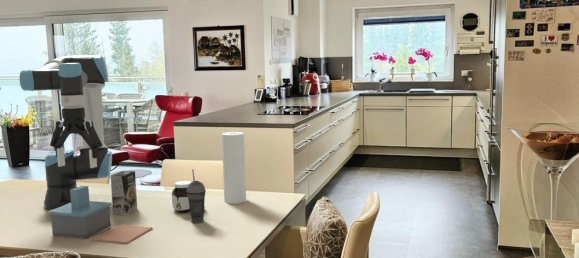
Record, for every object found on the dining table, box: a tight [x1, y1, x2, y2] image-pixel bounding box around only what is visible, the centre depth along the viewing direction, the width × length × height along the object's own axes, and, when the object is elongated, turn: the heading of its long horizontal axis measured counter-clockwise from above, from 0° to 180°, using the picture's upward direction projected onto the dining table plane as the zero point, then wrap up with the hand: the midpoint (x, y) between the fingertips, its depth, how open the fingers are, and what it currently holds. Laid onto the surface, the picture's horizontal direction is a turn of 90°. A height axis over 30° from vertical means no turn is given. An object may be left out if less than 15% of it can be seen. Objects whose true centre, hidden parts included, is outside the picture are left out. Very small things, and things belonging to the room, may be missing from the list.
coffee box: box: [110, 170, 138, 215], centre depth 210 cm, size 9×6×16 cm
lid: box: [47, 185, 112, 217], centre depth 186 cm, size 15×15×9 cm
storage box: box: [50, 206, 112, 240], centre depth 187 cm, size 14×14×8 cm
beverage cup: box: [186, 169, 207, 224], centre depth 194 cm, size 7×7×20 cm
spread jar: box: [171, 180, 206, 214], centre depth 210 cm, size 12×11×12 cm
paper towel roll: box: [221, 131, 247, 205], centre depth 221 cm, size 9×9×30 cm
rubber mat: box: [91, 224, 153, 245], centre depth 182 cm, size 14×16×1 cm
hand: (77, 166), depth 184 cm, fingers open, 13 cm apart
